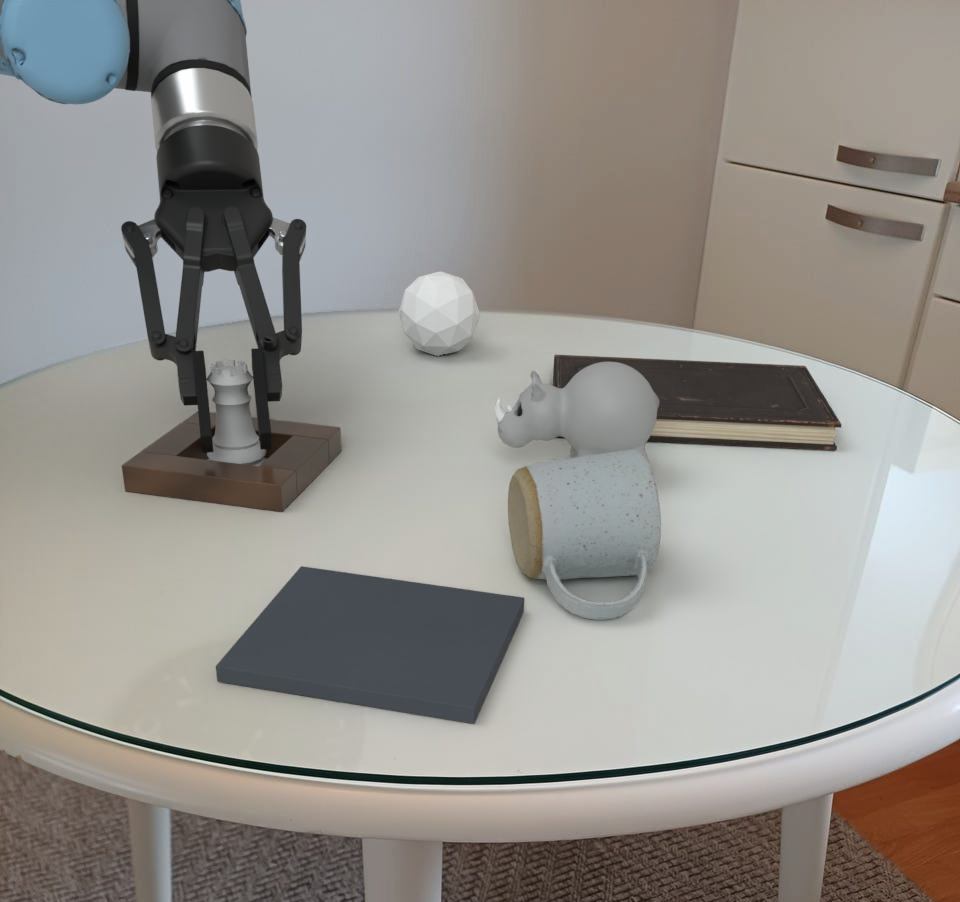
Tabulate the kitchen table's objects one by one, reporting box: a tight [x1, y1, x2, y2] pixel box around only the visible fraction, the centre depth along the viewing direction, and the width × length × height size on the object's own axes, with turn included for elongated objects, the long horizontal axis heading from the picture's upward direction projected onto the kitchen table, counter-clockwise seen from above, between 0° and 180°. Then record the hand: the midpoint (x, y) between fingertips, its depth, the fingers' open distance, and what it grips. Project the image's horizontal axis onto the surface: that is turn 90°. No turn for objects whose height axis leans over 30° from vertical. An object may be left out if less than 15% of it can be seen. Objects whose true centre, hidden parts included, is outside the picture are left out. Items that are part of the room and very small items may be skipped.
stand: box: [121, 410, 343, 513], centre depth 83 cm, size 12×12×2 cm
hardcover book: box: [552, 354, 842, 451], centre depth 97 cm, size 16×23×2 cm
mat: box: [215, 565, 525, 724], centre depth 63 cm, size 14×12×1 cm
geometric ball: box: [398, 270, 481, 356], centre depth 109 cm, size 8×8×8 cm
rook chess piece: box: [206, 359, 267, 466], centre depth 82 cm, size 4×4×8 cm
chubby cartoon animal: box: [493, 362, 659, 466], centre depth 83 cm, size 7×12×8 cm, turn 89°
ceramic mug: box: [507, 449, 662, 621], centre depth 68 cm, size 11×8×8 cm
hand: (236, 442), depth 79 cm, fingers open, 3 cm apart
